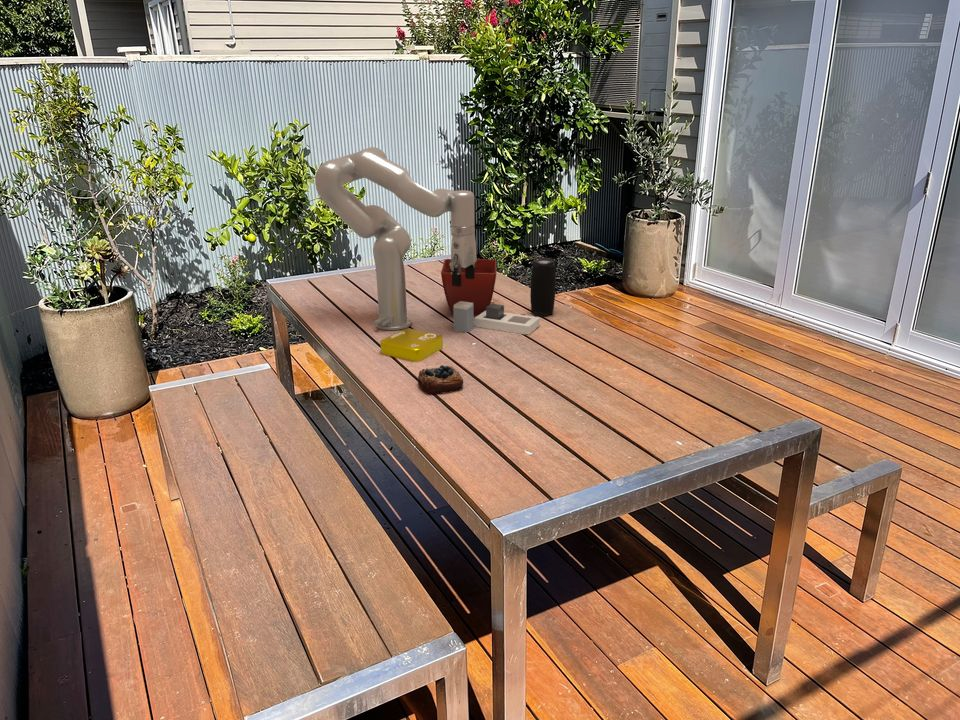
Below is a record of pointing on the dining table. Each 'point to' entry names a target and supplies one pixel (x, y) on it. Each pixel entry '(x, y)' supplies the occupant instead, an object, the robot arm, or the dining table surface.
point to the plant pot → (471, 285)
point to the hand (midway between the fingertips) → (463, 282)
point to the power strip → (506, 320)
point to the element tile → (411, 344)
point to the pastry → (440, 380)
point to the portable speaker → (543, 286)
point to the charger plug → (463, 316)
